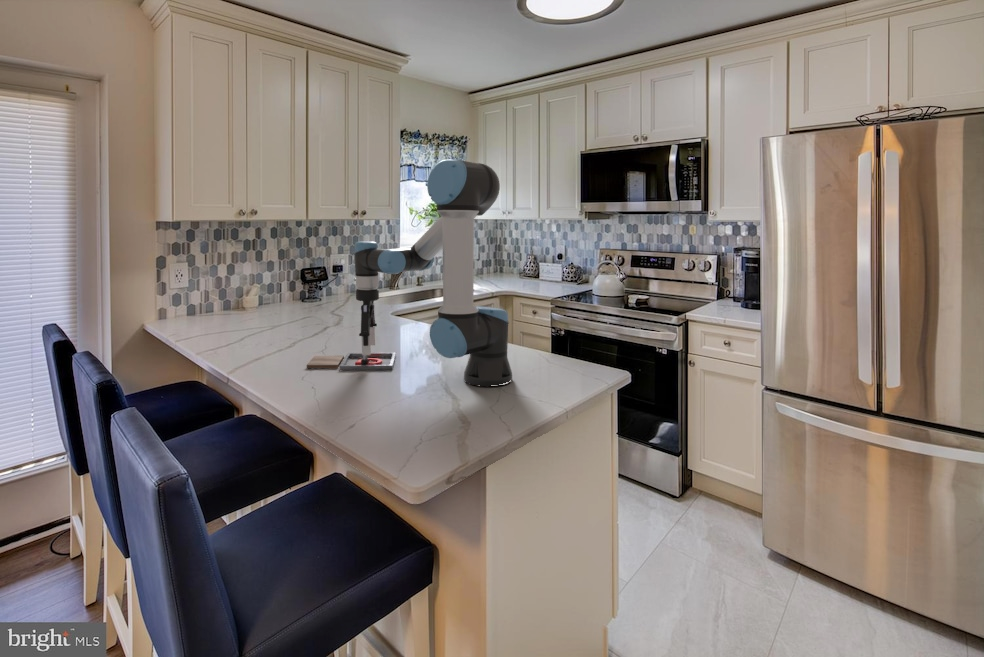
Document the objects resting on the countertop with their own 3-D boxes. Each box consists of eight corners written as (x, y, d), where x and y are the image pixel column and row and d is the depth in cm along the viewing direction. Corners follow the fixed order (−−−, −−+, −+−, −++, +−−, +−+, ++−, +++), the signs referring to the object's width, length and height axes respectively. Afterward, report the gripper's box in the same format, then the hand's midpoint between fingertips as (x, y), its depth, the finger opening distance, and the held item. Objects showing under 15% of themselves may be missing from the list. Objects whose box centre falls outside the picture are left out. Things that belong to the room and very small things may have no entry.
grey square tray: (392, 369, 172) (392, 365, 172) (339, 370, 170) (339, 366, 170) (395, 356, 188) (395, 352, 188) (347, 357, 187) (347, 352, 186)
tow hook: (362, 360, 184) (352, 366, 175) (362, 324, 182) (351, 328, 173) (385, 362, 183) (376, 368, 174) (385, 325, 181) (376, 330, 172)
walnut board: (337, 368, 172) (337, 364, 172) (306, 368, 171) (306, 365, 171) (343, 358, 184) (343, 355, 184) (314, 359, 183) (314, 355, 183)
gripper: (360, 283, 186) (362, 341, 190) (349, 293, 161) (352, 359, 166) (382, 283, 186) (383, 341, 191) (374, 293, 162) (376, 359, 167)
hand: (368, 349), depth 178 cm, fingers open, 13 cm apart
